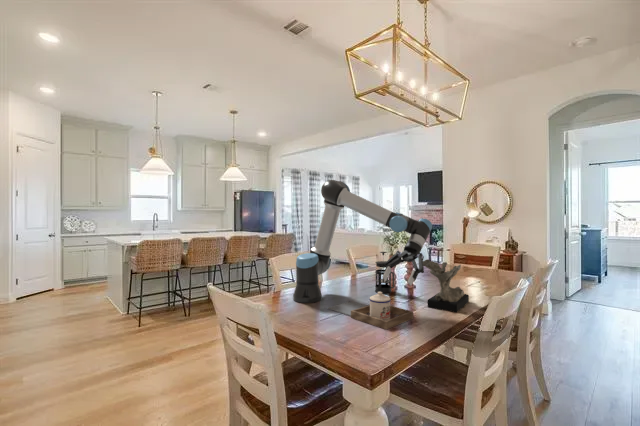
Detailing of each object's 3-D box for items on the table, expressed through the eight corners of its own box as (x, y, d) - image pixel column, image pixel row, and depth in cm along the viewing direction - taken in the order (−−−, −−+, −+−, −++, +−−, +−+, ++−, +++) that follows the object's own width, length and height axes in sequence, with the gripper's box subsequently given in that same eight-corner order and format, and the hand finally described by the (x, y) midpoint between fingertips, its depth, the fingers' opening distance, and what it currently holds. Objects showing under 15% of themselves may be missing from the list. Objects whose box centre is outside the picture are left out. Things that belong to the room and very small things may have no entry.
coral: (454, 314, 145) (454, 266, 145) (411, 306, 158) (411, 262, 158) (470, 302, 164) (470, 260, 164) (430, 295, 177) (430, 256, 177)
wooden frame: (350, 317, 141) (350, 310, 141) (378, 308, 154) (378, 302, 154) (386, 329, 127) (386, 321, 127) (413, 318, 140) (413, 311, 140)
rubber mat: (327, 308, 154) (327, 307, 154) (349, 302, 164) (349, 301, 164) (350, 316, 143) (350, 315, 143) (372, 309, 153) (372, 308, 153)
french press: (371, 291, 185) (370, 251, 185) (378, 288, 193) (378, 250, 192) (389, 295, 178) (389, 253, 178) (397, 291, 185) (397, 251, 185)
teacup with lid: (383, 324, 133) (382, 296, 133) (365, 319, 140) (365, 292, 139) (398, 317, 142) (398, 290, 142) (380, 312, 148) (380, 287, 148)
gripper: (441, 253, 149) (424, 291, 139) (395, 248, 168) (378, 281, 158) (435, 242, 146) (417, 280, 136) (389, 238, 164) (370, 272, 155)
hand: (396, 281), depth 147 cm, fingers open, 13 cm apart
